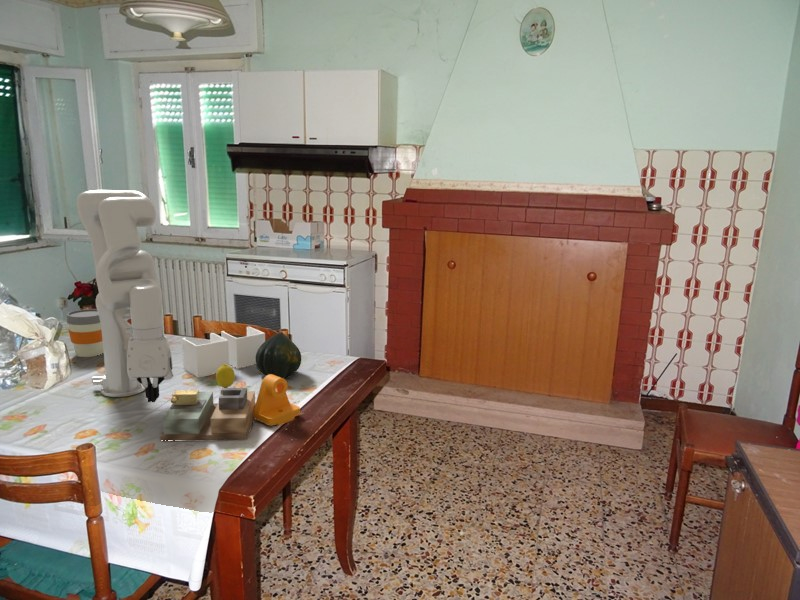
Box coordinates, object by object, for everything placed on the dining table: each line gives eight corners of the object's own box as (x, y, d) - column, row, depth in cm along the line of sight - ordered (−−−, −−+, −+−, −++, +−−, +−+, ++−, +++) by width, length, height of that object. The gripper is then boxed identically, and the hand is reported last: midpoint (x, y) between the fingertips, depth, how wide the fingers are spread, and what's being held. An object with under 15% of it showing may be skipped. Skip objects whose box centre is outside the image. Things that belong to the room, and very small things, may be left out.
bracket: (270, 429, 149) (270, 386, 146) (253, 421, 153) (252, 379, 151) (301, 416, 157) (301, 376, 155) (284, 409, 162) (284, 369, 159)
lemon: (229, 393, 172) (228, 368, 170) (213, 391, 173) (212, 366, 171) (238, 386, 177) (237, 362, 175) (222, 384, 178) (221, 360, 176)
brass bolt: (171, 408, 145) (170, 397, 144) (176, 400, 150) (175, 390, 149) (195, 407, 146) (194, 396, 145) (199, 400, 150) (198, 389, 150)
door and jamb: (160, 441, 140) (158, 409, 138) (181, 408, 159) (180, 379, 157) (247, 439, 142) (246, 407, 140) (257, 407, 162) (256, 379, 160)
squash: (262, 371, 175) (289, 331, 180) (240, 360, 186) (266, 323, 191) (292, 392, 184) (317, 354, 188) (270, 381, 195) (294, 345, 199)
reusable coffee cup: (98, 359, 197) (94, 317, 194) (62, 358, 197) (58, 316, 194) (116, 348, 209) (113, 309, 206) (82, 347, 209) (79, 308, 206)
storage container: (197, 378, 183) (196, 346, 181) (183, 369, 191) (182, 338, 189) (265, 362, 200) (265, 333, 198) (249, 355, 208) (249, 326, 206)
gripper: (111, 336, 139) (117, 406, 143) (174, 336, 141) (178, 405, 144) (122, 328, 146) (127, 395, 150) (182, 328, 148) (186, 394, 152)
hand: (152, 400), depth 147 cm, fingers closed
